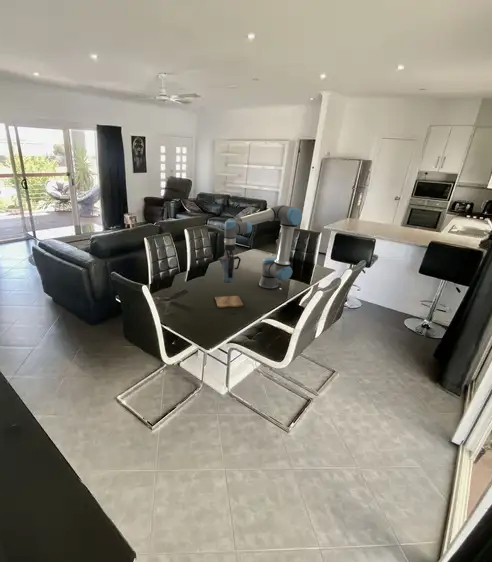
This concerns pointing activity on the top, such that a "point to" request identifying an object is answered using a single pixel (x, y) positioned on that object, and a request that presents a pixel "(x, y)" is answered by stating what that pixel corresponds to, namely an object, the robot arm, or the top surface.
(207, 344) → the top surface
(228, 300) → the cork board
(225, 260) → the moka pot
